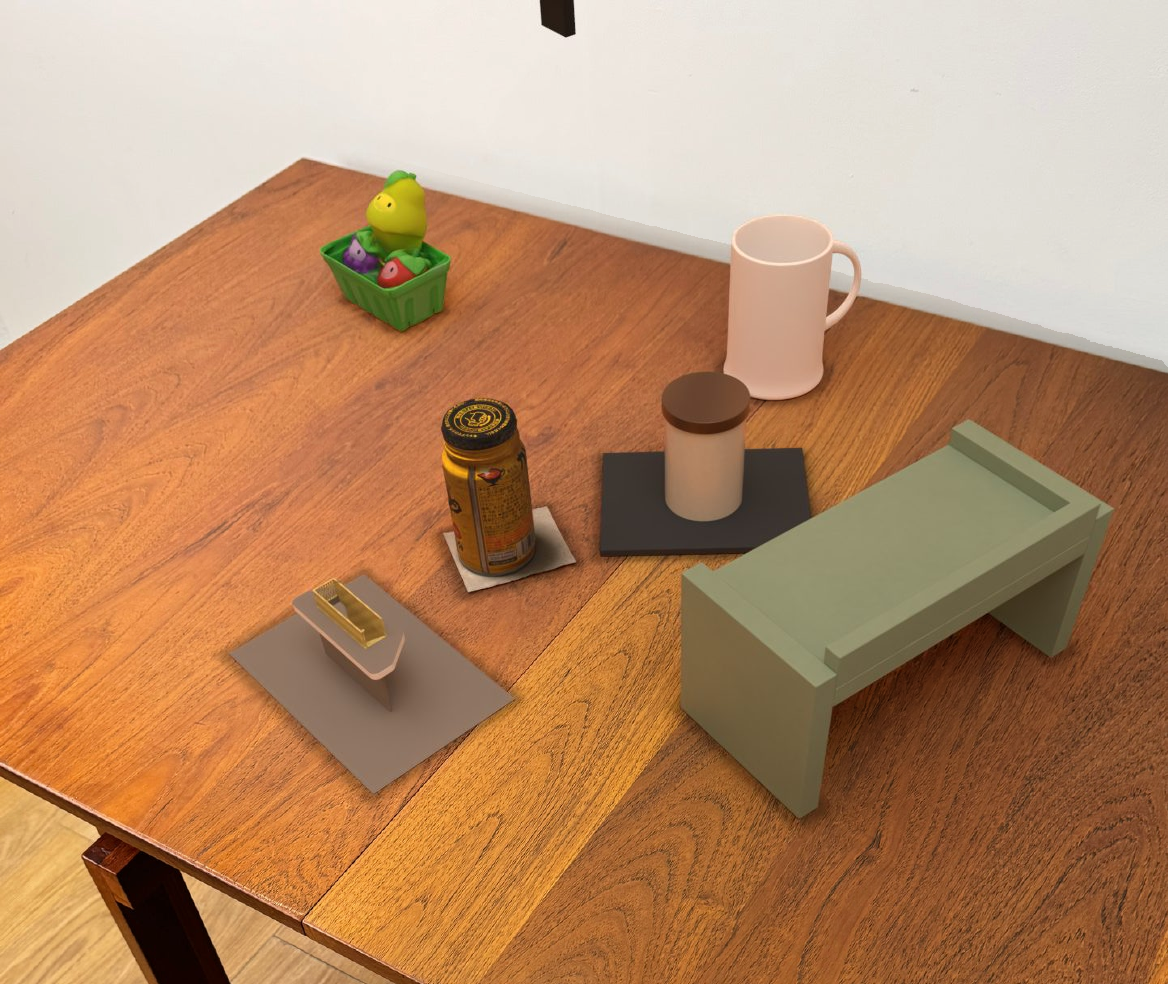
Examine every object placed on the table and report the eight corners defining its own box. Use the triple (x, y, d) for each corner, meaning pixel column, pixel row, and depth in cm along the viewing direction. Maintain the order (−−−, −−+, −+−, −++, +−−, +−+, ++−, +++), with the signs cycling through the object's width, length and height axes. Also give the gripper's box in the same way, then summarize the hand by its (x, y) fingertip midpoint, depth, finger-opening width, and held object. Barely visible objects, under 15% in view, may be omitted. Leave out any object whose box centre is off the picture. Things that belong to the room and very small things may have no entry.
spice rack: (939, 557, 92) (972, 402, 82) (1066, 648, 86) (1120, 491, 76) (679, 707, 85) (680, 556, 74) (799, 819, 78) (817, 671, 68)
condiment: (443, 535, 97) (419, 401, 88) (547, 508, 99) (533, 373, 89) (468, 594, 93) (445, 460, 83) (576, 565, 94) (566, 430, 85)
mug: (835, 329, 112) (850, 196, 103) (874, 381, 107) (893, 246, 98) (710, 355, 111) (713, 223, 101) (743, 409, 105) (750, 274, 96)
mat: (801, 453, 101) (802, 447, 101) (814, 551, 94) (814, 545, 93) (603, 458, 102) (603, 452, 102) (600, 556, 95) (599, 550, 94)
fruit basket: (326, 299, 120) (298, 181, 111) (399, 263, 124) (378, 146, 115) (398, 344, 115) (375, 223, 106) (472, 305, 118) (456, 185, 109)
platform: (363, 573, 95) (346, 504, 90) (515, 698, 86) (505, 629, 81) (228, 653, 90) (201, 585, 85) (373, 794, 81) (353, 727, 76)
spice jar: (742, 470, 99) (748, 369, 92) (747, 522, 95) (752, 421, 88) (662, 472, 100) (661, 372, 93) (662, 524, 96) (661, 424, 89)
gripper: (776, -501, 70) (757, -65, 87) (390, -430, 62) (450, 37, 78) (870, -492, 66) (831, -36, 83) (470, -415, 58) (515, 74, 74)
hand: (645, 0), depth 81 cm, fingers open, 13 cm apart
